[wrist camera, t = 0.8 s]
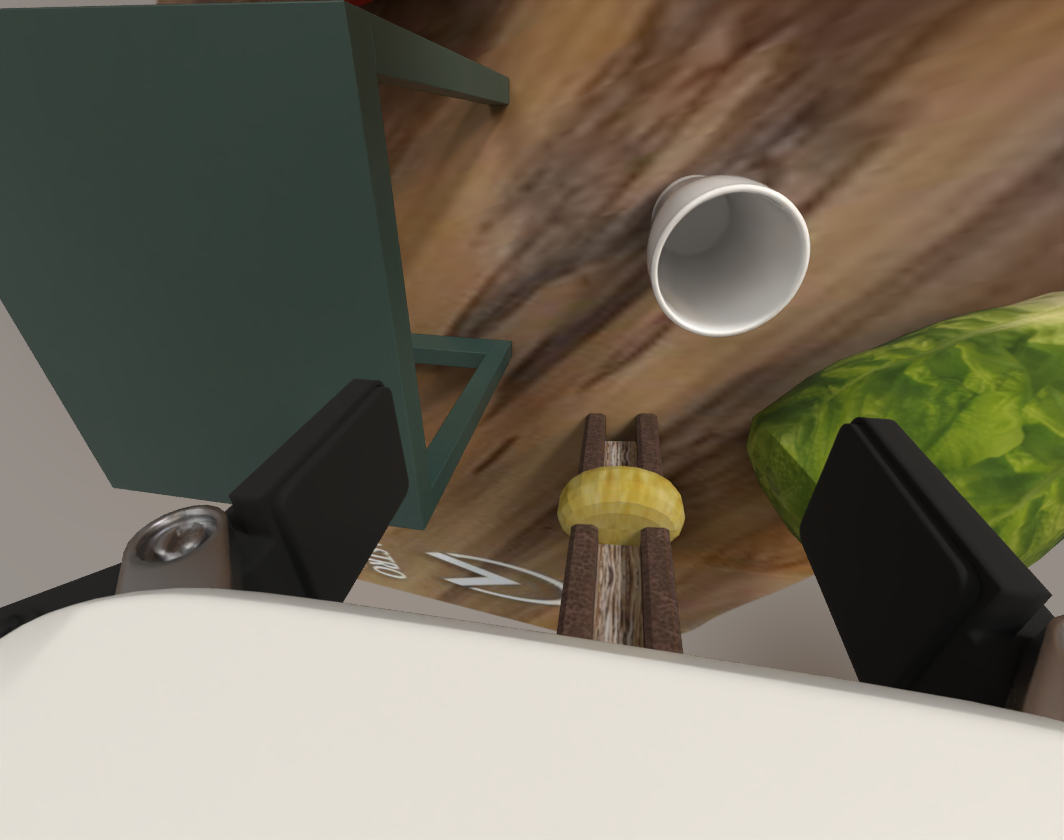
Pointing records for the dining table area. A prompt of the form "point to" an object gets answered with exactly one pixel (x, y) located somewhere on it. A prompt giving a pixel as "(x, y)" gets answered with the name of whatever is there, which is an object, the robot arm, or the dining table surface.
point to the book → (621, 542)
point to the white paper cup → (725, 253)
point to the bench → (220, 232)
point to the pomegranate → (355, 2)
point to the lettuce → (942, 417)
